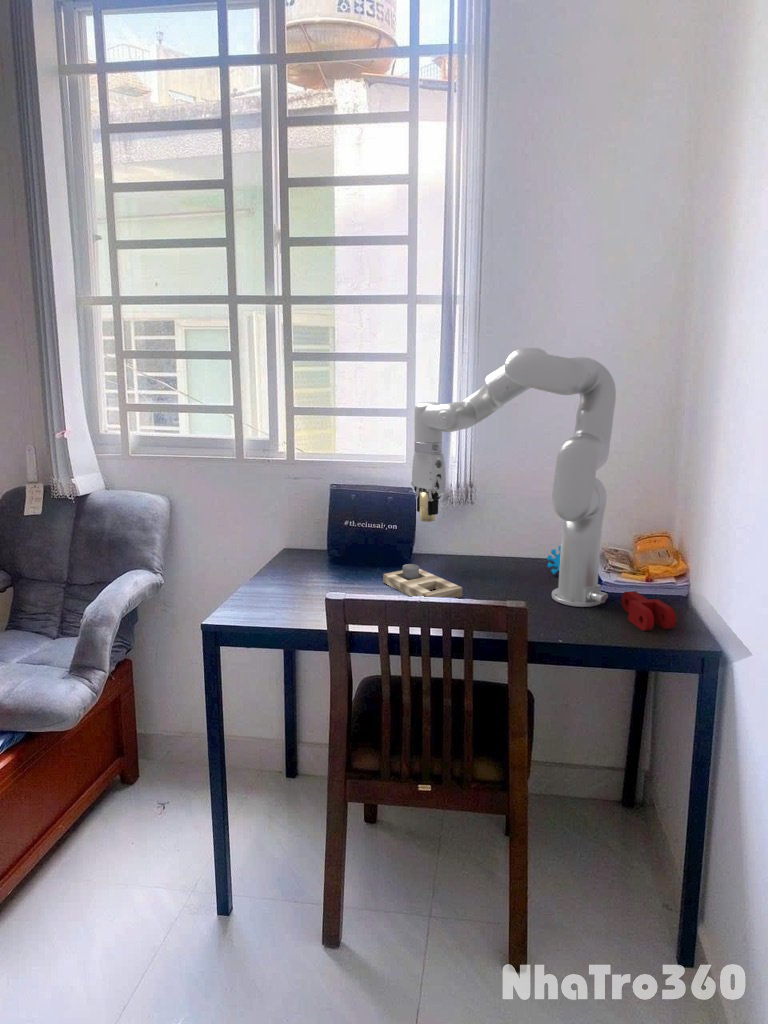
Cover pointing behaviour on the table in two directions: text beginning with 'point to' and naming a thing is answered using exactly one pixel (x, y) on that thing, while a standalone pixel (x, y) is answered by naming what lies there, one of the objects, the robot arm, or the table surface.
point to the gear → (554, 560)
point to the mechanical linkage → (647, 611)
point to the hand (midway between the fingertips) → (427, 512)
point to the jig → (421, 583)
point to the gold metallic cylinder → (425, 507)
